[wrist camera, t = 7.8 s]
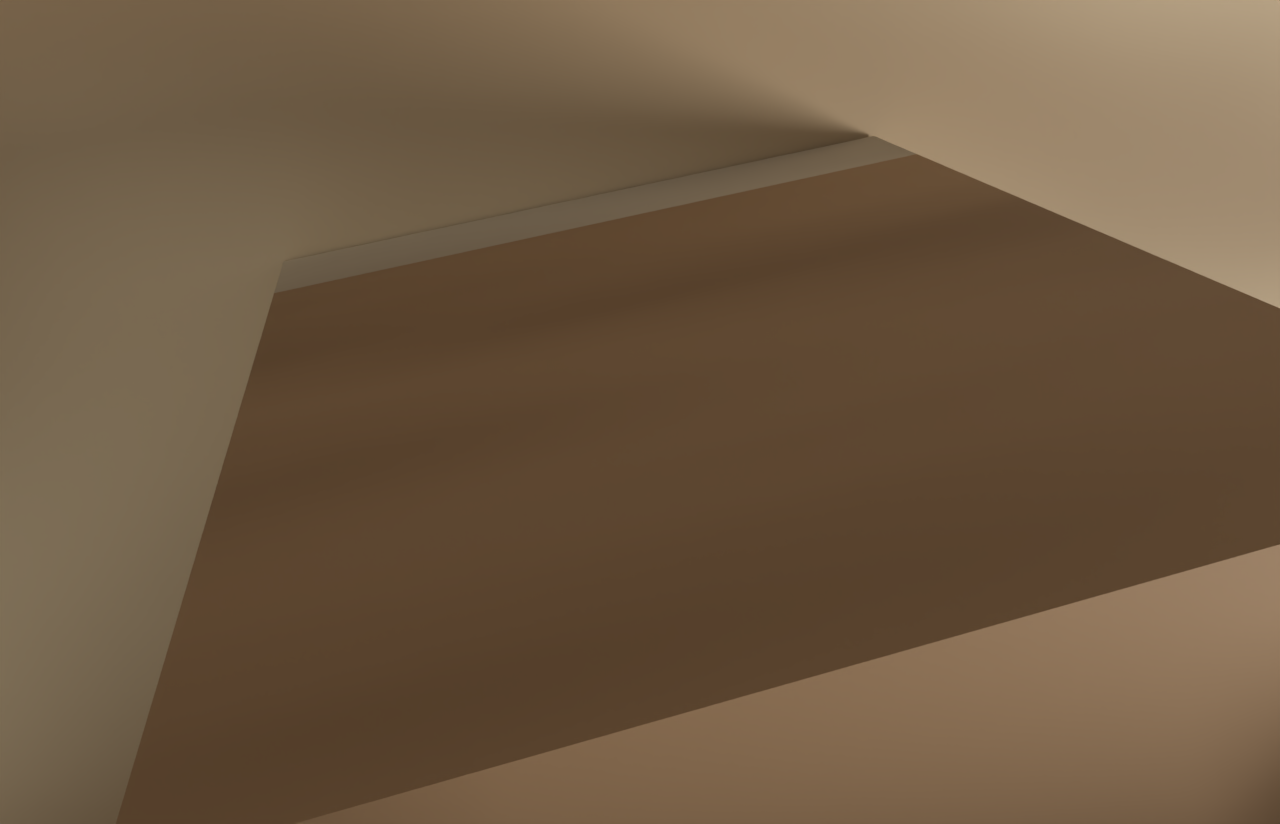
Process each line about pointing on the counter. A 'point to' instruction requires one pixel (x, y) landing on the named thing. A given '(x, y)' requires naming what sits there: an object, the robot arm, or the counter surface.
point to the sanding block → (739, 523)
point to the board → (464, 192)
